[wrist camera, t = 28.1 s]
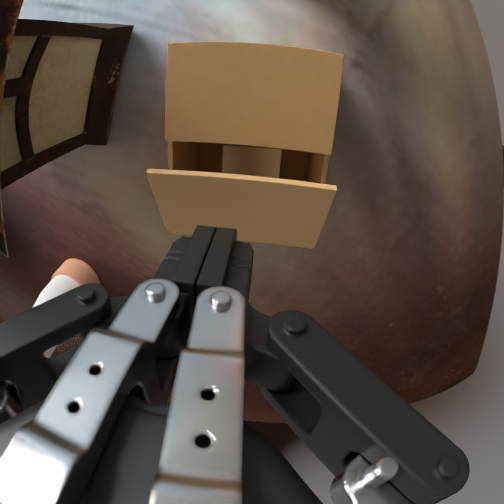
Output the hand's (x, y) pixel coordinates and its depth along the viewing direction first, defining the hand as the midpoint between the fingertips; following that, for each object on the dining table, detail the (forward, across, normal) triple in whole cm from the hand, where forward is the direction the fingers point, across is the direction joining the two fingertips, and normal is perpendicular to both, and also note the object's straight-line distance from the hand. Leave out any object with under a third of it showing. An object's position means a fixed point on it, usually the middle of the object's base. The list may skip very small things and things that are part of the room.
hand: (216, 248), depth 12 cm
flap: (+10, 0, +3) cm, 10 cm away
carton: (+21, 0, -2) cm, 21 cm away
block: (+21, 0, +2) cm, 21 cm away
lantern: (+21, +21, -11) cm, 32 cm away
